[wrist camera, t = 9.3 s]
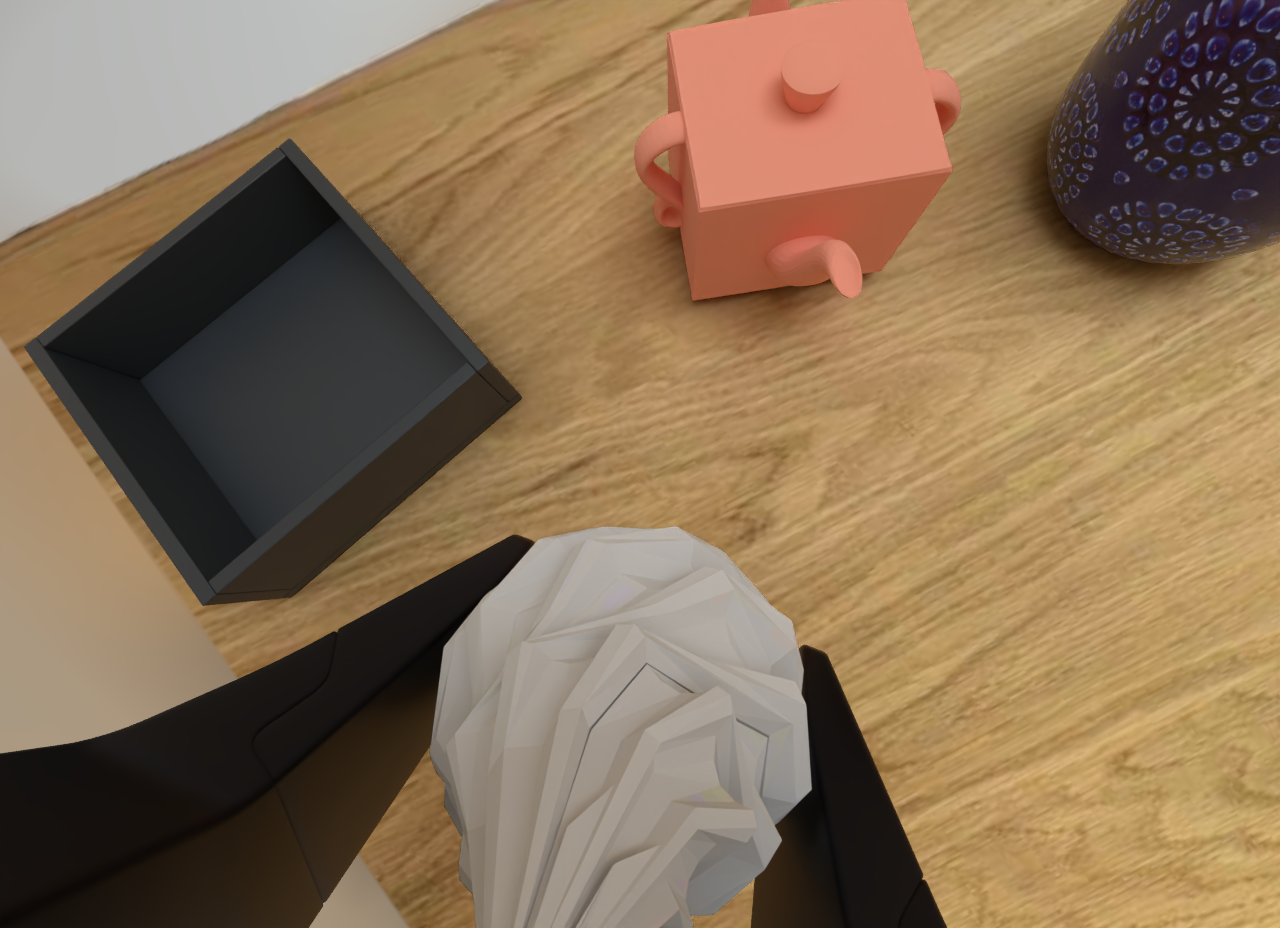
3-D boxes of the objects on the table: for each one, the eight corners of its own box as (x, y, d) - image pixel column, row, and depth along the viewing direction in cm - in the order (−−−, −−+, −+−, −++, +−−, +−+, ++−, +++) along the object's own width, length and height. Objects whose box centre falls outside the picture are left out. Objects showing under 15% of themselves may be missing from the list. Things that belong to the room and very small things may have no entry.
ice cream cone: (733, 550, 17) (1158, 436, 2) (733, 727, 16) (1471, 2595, 1) (571, 545, 17) (-16, 415, 2) (562, 718, 16) (-460, 2135, 2)
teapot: (666, 395, 24) (662, 312, 16) (621, 106, 27) (598, -92, 19) (935, 354, 24) (1071, 247, 16) (863, 64, 27) (947, -156, 19)
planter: (1067, 46, 26) (1350, -324, 15) (1302, 140, 25) (1803, -195, 14) (968, 229, 25) (1199, -32, 14) (1210, 341, 23) (1682, 145, 12)
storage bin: (291, 597, 24) (202, 606, 19) (135, 383, 26) (22, 346, 22) (523, 398, 25) (489, 361, 20) (353, 208, 27) (289, 137, 23)
